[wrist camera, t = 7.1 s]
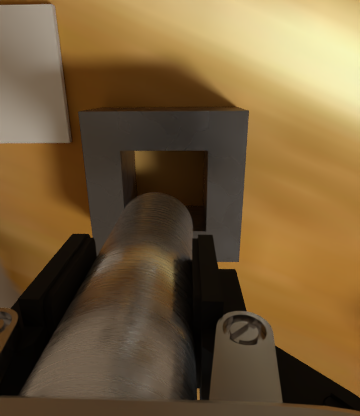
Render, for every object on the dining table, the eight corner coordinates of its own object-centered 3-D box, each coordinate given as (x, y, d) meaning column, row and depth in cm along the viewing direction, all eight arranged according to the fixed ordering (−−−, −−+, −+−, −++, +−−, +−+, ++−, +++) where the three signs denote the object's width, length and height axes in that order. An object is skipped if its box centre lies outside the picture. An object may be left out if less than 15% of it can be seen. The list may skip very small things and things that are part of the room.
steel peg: (103, 179, 15) (-415, 697, 2) (205, 180, 15) (313, 737, 2) (112, 268, 16) (-150, 858, 4) (203, 269, 16) (254, 883, 4)
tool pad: (-76, 8, 21) (-82, 6, 21) (54, 6, 21) (51, 4, 20) (-43, 142, 24) (-47, 143, 24) (71, 141, 24) (69, 142, 24)
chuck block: (100, 107, 23) (78, 111, 18) (236, 107, 23) (248, 110, 18) (112, 230, 27) (95, 260, 22) (230, 231, 26) (238, 261, 22)
